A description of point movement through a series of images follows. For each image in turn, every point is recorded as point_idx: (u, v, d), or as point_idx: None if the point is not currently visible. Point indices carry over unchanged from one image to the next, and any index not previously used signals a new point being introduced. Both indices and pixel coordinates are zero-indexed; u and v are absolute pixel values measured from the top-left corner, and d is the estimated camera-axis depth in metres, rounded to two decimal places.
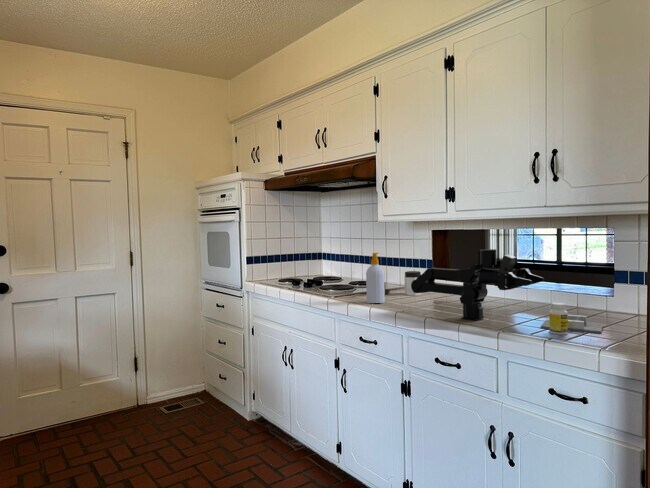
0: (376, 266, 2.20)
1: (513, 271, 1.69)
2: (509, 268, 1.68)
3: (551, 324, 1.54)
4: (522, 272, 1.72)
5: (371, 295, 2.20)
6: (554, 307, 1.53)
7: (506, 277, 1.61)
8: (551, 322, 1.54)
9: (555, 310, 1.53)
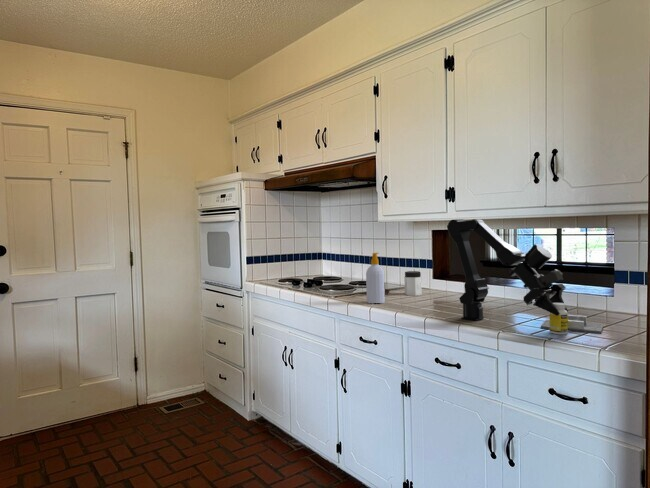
0: (376, 266, 2.20)
1: (549, 286, 1.57)
2: (548, 283, 1.56)
3: (551, 324, 1.54)
4: (557, 287, 1.61)
5: (371, 295, 2.20)
6: None
7: (540, 296, 1.52)
8: (551, 322, 1.54)
9: None
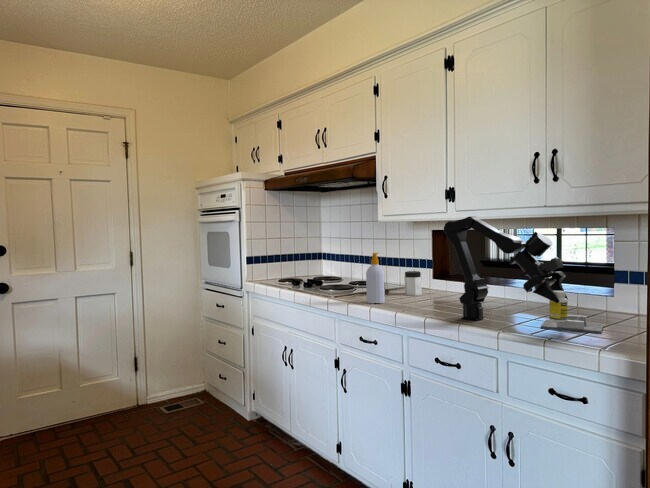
0: (376, 266, 2.20)
1: (550, 274, 1.57)
2: (548, 271, 1.55)
3: (551, 312, 1.54)
4: (557, 275, 1.61)
5: (371, 295, 2.20)
6: None
7: (540, 283, 1.52)
8: (551, 310, 1.53)
9: None
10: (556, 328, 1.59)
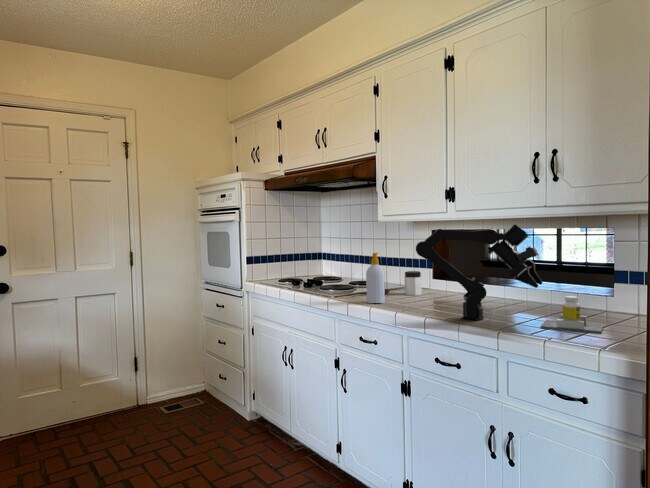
0: (376, 266, 2.20)
1: (525, 261, 1.74)
2: None
3: (566, 317, 1.60)
4: (527, 262, 1.80)
5: (371, 295, 2.20)
6: (569, 301, 1.60)
7: (523, 270, 1.66)
8: (566, 315, 1.60)
9: (570, 303, 1.60)
10: (556, 328, 1.59)
